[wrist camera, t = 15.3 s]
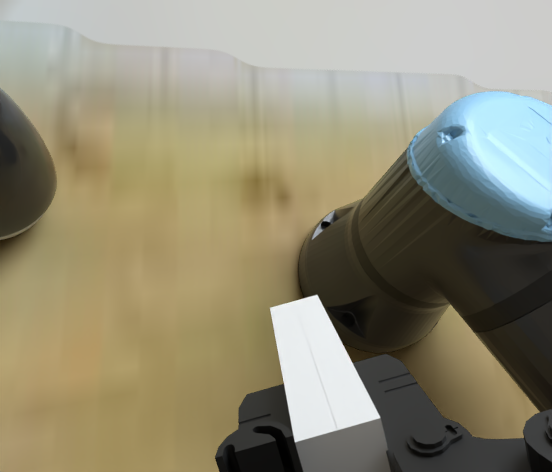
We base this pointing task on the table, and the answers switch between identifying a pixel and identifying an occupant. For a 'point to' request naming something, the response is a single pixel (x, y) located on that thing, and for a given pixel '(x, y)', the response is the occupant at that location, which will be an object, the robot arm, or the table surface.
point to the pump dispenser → (22, 171)
